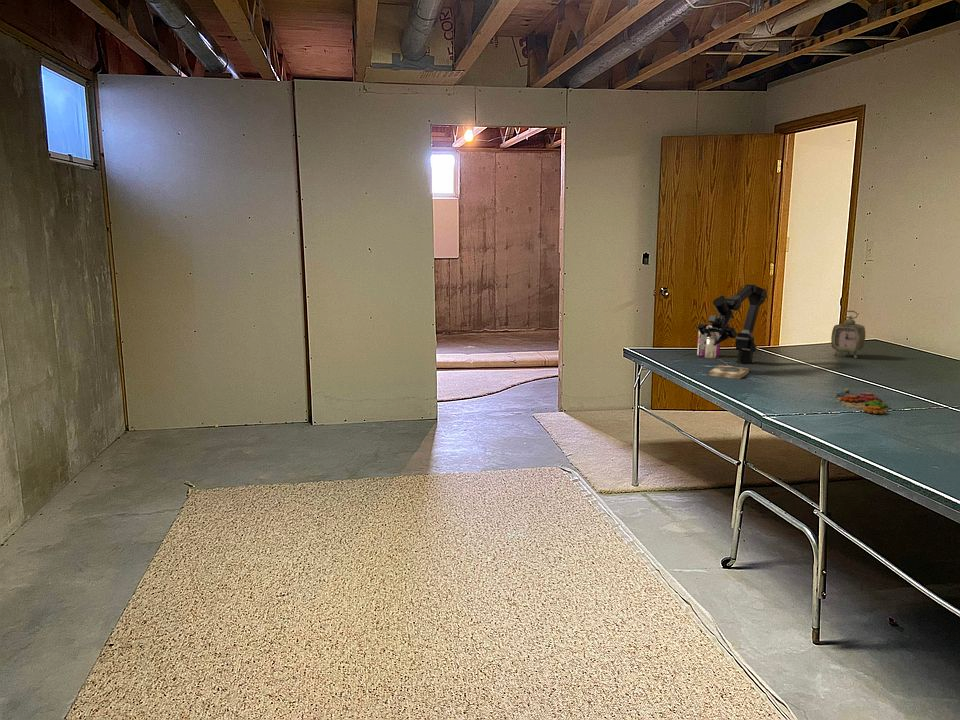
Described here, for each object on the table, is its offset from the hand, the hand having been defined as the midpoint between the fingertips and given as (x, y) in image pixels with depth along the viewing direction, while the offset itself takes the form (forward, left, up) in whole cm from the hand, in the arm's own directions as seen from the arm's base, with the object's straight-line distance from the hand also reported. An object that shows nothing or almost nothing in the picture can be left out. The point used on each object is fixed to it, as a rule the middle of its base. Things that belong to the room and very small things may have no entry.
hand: (709, 344), depth 334 cm
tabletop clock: (-94, -18, -14) cm, 97 cm away
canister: (-1, -1, -7) cm, 7 cm away
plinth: (-7, +7, -13) cm, 17 cm away
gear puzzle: (-24, +72, -14) cm, 77 cm away
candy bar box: (-23, -38, -14) cm, 47 cm away
